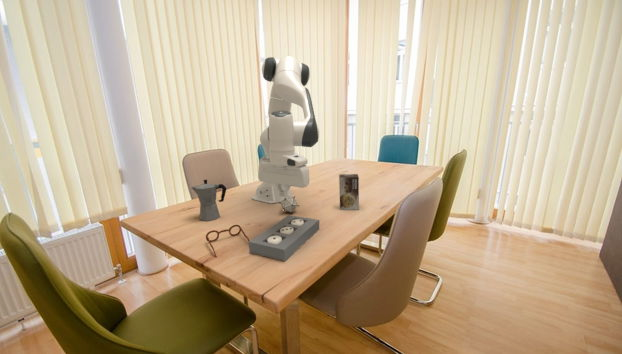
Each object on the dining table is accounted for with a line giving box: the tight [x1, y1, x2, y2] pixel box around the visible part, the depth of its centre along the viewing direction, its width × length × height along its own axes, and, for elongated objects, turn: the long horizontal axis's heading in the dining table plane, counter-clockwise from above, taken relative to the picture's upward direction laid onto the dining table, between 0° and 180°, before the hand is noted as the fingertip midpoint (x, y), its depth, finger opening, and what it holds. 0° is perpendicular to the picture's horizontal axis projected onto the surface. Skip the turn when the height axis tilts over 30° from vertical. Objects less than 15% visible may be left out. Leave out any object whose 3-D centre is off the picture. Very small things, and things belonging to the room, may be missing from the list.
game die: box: [278, 196, 300, 215], centre depth 126 cm, size 9×8×10 cm
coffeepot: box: [191, 179, 227, 222], centre depth 122 cm, size 15×9×18 cm, turn 92°
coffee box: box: [338, 173, 360, 211], centre depth 129 cm, size 9×6×16 cm
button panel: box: [248, 214, 320, 262], centre depth 99 cm, size 14×26×4 cm, turn 154°
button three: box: [280, 227, 293, 235], centre depth 99 cm, size 5×5×4 cm
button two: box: [291, 219, 304, 226], centre depth 106 cm, size 5×5×4 cm
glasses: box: [205, 224, 251, 258], centre depth 97 cm, size 13×13×5 cm
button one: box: [267, 236, 282, 245], centre depth 92 cm, size 5×5×4 cm
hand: (283, 195), depth 98 cm, fingers closed
